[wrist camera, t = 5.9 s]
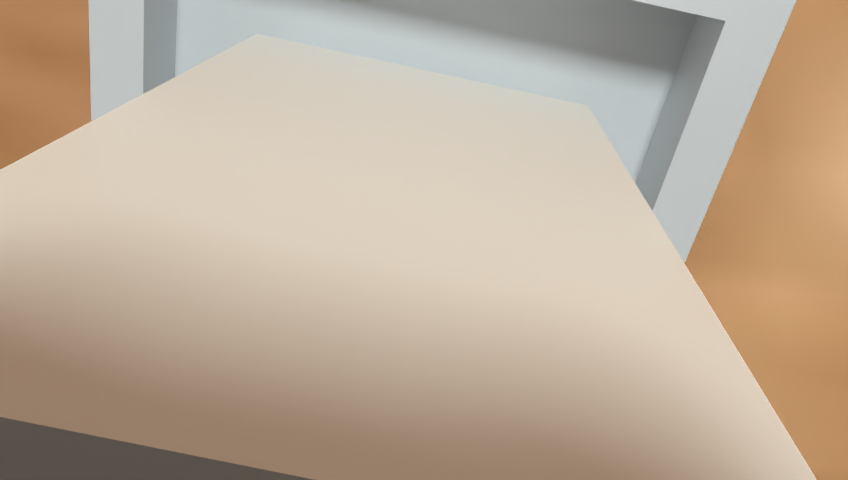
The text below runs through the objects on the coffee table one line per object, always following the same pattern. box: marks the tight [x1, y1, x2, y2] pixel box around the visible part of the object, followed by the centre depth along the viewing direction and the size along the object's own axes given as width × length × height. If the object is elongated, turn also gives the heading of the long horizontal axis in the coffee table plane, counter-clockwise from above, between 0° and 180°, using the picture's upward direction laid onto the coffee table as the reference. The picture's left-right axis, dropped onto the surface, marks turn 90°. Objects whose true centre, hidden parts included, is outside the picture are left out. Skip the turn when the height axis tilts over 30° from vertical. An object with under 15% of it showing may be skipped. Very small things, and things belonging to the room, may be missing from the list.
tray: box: [89, 0, 796, 263], centre depth 12 cm, size 10×12×2 cm
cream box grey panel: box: [0, 34, 817, 480], centre depth 8 cm, size 5×7×9 cm
